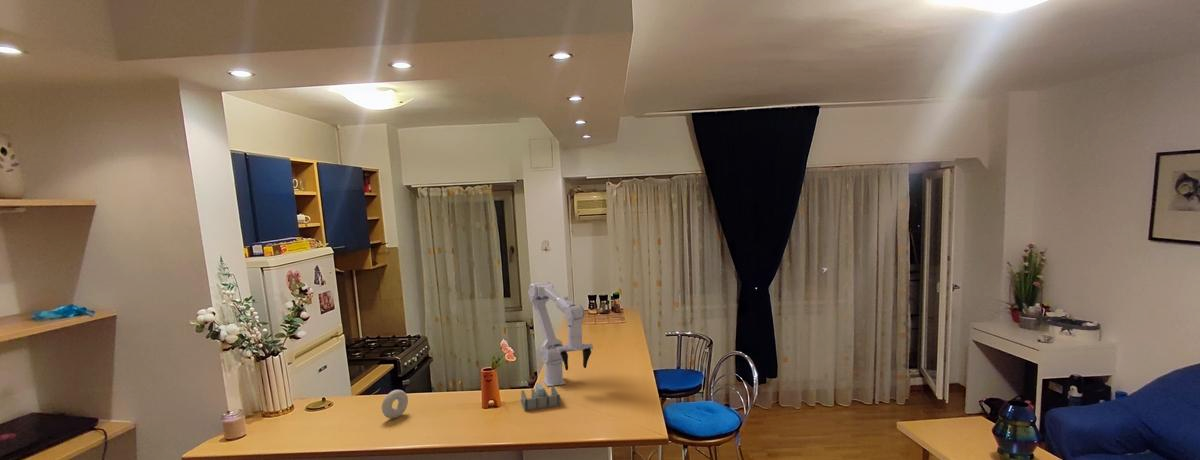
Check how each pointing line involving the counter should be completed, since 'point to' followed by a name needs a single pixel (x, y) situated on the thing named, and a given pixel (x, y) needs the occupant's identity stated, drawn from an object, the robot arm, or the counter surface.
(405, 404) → the donut
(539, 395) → the plate
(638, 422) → the counter surface
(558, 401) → the rack
